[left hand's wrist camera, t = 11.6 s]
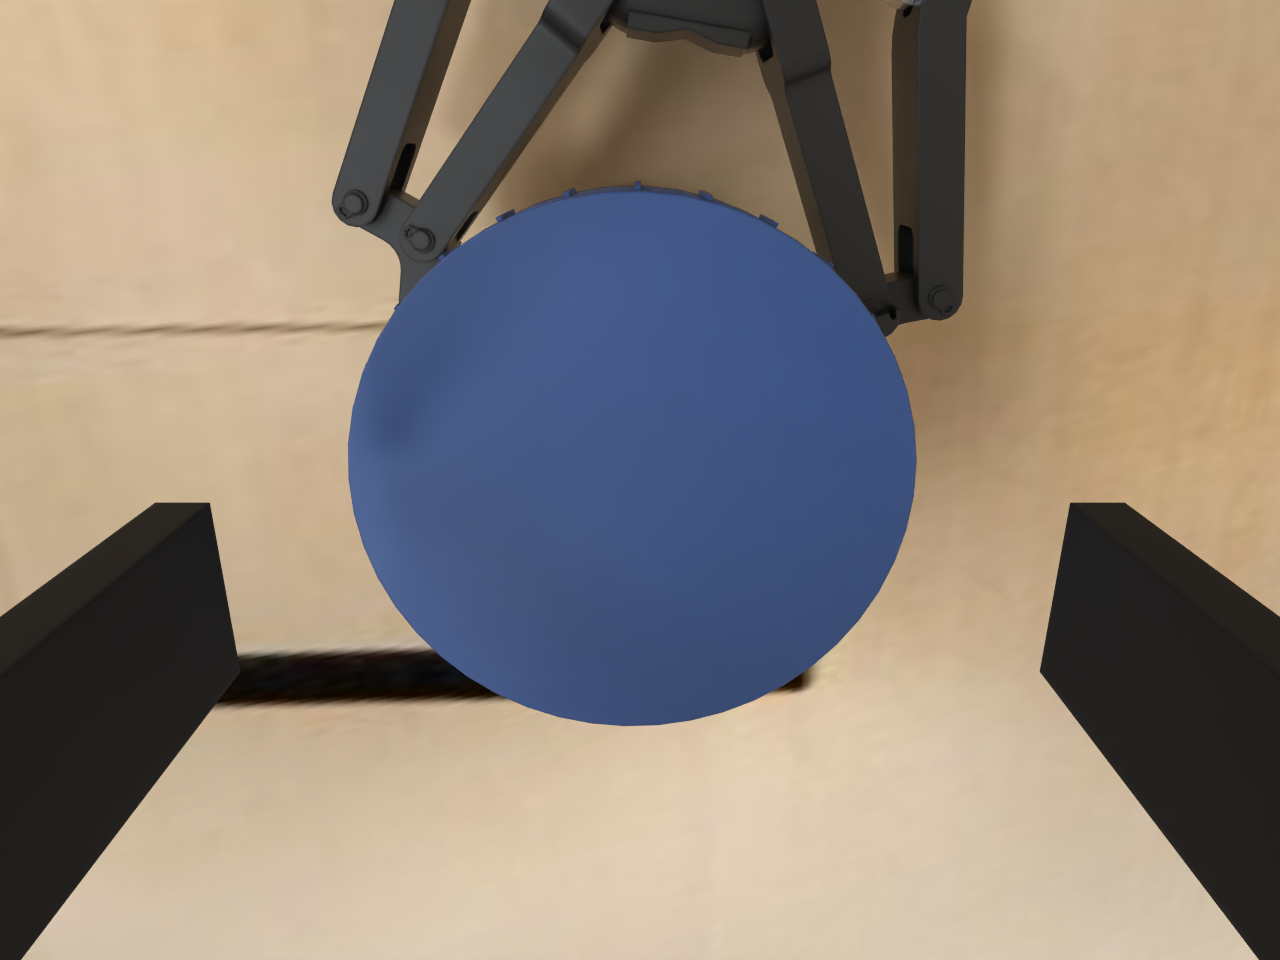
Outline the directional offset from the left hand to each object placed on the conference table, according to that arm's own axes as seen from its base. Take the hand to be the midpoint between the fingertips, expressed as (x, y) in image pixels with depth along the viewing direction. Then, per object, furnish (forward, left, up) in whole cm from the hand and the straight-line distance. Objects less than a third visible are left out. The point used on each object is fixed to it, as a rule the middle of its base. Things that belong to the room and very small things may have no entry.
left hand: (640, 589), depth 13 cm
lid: (0, 0, -5) cm, 5 cm away
